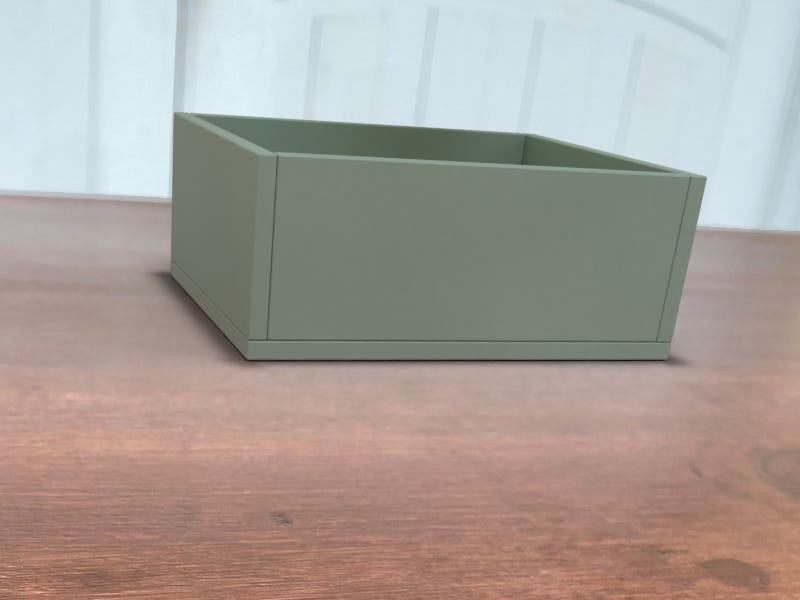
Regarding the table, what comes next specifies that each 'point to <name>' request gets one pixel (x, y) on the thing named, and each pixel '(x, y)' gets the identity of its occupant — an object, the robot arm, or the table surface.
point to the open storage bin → (426, 241)
